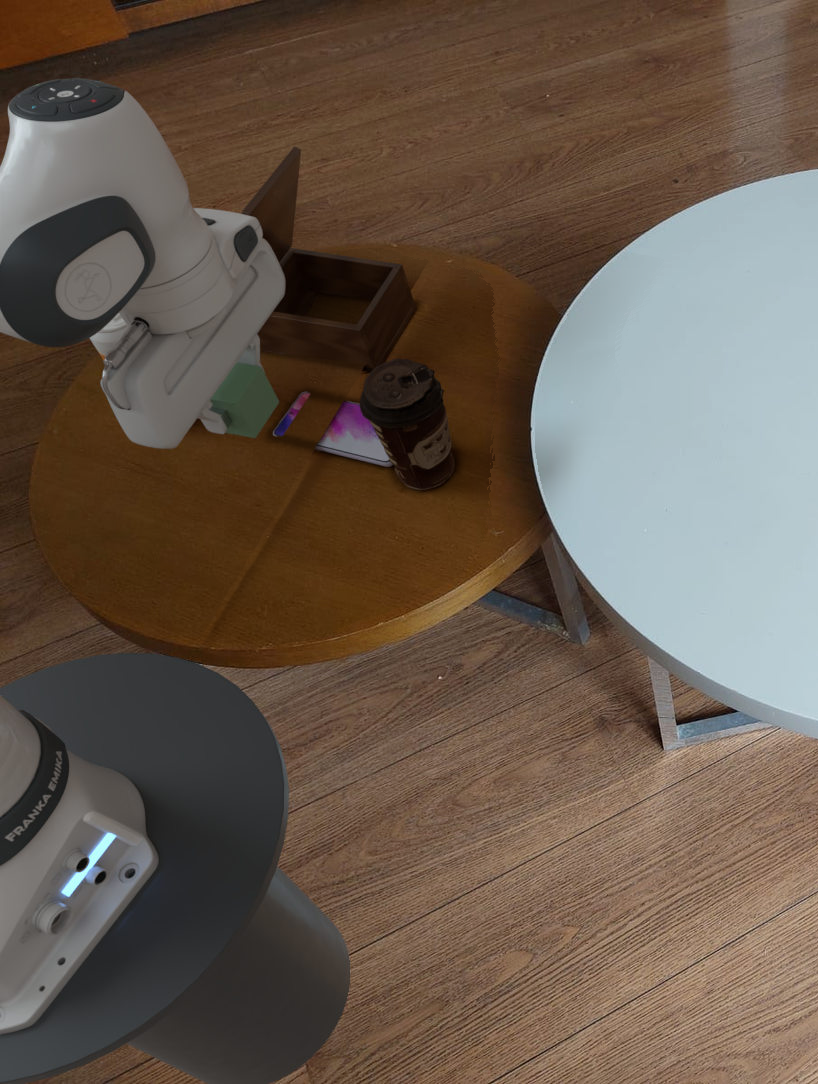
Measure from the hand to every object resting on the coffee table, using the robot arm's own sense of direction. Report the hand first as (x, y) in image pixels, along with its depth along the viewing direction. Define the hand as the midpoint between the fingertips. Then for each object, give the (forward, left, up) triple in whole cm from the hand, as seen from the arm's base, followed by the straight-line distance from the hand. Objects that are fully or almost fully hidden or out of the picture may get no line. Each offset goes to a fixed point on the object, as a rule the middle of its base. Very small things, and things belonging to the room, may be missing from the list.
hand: (238, 402), depth 97 cm
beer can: (+13, +25, -21) cm, 35 cm away
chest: (+30, +12, -21) cm, 39 cm away
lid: (+30, +16, -7) cm, 35 cm away
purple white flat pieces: (+15, +4, -21) cm, 27 cm away
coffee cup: (+12, -7, -21) cm, 26 cm away
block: (0, 0, -2) cm, 2 cm away
